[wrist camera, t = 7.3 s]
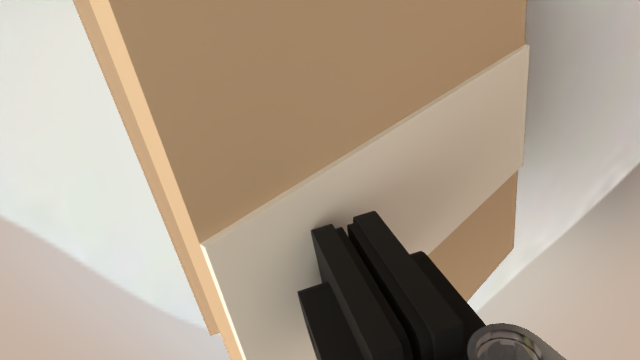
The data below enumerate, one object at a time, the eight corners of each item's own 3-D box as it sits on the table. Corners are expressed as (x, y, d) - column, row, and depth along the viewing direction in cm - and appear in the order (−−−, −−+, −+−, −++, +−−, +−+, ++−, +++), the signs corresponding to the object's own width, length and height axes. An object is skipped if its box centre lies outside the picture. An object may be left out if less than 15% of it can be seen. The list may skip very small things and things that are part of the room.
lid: (507, -94, 15) (538, -99, 14) (497, 242, 21) (517, 249, 21) (87, -4, 7) (111, -7, 6) (278, 481, 14) (299, 504, 13)
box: (403, -76, 22) (505, -94, 15) (419, 173, 28) (495, 241, 21) (110, -19, 19) (69, -8, 13) (203, 236, 26) (210, 335, 19)
